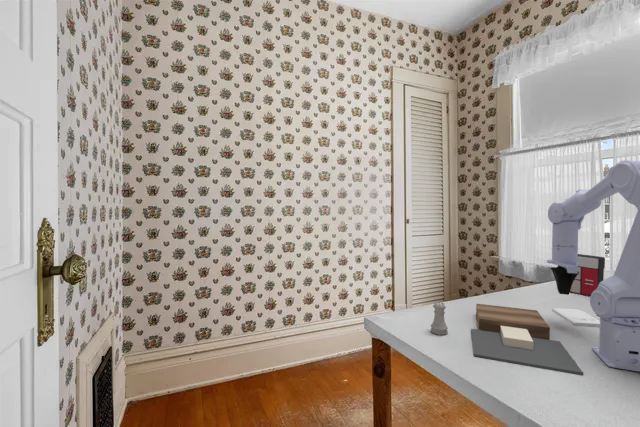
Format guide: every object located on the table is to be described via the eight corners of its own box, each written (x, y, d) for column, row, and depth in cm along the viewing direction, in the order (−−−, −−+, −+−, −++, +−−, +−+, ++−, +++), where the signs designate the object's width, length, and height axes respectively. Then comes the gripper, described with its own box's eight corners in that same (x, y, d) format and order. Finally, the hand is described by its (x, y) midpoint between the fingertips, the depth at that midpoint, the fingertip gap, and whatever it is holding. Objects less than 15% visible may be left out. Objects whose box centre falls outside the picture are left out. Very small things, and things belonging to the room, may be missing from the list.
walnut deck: (549, 341, 80) (549, 327, 80) (479, 331, 86) (479, 318, 86) (536, 322, 93) (537, 310, 93) (476, 314, 99) (476, 303, 99)
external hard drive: (580, 314, 101) (607, 329, 89) (551, 312, 102) (574, 327, 90) (580, 309, 101) (607, 324, 89) (551, 308, 102) (574, 322, 90)
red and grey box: (564, 291, 125) (564, 253, 125) (570, 290, 127) (571, 253, 126) (597, 298, 115) (598, 258, 115) (604, 297, 117) (605, 257, 116)
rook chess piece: (437, 336, 83) (437, 306, 83) (427, 330, 87) (427, 301, 87) (451, 334, 84) (451, 304, 84) (440, 328, 88) (441, 300, 88)
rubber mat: (583, 375, 64) (583, 372, 64) (473, 356, 72) (473, 354, 72) (559, 343, 79) (559, 341, 79) (471, 330, 87) (471, 328, 87)
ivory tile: (533, 349, 74) (533, 341, 74) (503, 345, 77) (503, 337, 76) (526, 336, 81) (527, 329, 81) (500, 332, 84) (500, 325, 84)
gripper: (541, 242, 97) (540, 286, 97) (554, 248, 84) (553, 299, 84) (569, 243, 94) (568, 288, 94) (588, 249, 81) (586, 302, 81)
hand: (563, 293), depth 89 cm, fingers closed
